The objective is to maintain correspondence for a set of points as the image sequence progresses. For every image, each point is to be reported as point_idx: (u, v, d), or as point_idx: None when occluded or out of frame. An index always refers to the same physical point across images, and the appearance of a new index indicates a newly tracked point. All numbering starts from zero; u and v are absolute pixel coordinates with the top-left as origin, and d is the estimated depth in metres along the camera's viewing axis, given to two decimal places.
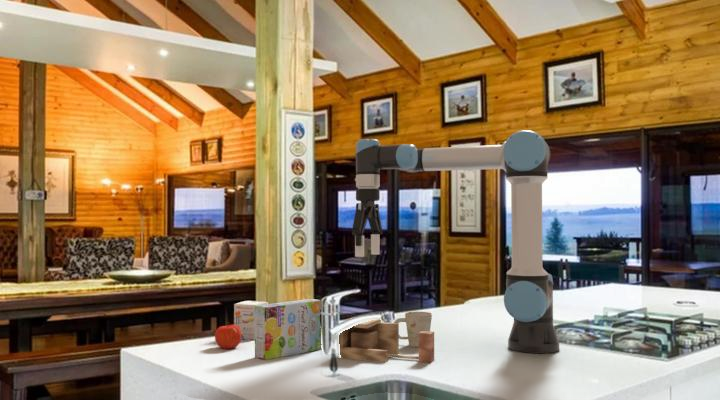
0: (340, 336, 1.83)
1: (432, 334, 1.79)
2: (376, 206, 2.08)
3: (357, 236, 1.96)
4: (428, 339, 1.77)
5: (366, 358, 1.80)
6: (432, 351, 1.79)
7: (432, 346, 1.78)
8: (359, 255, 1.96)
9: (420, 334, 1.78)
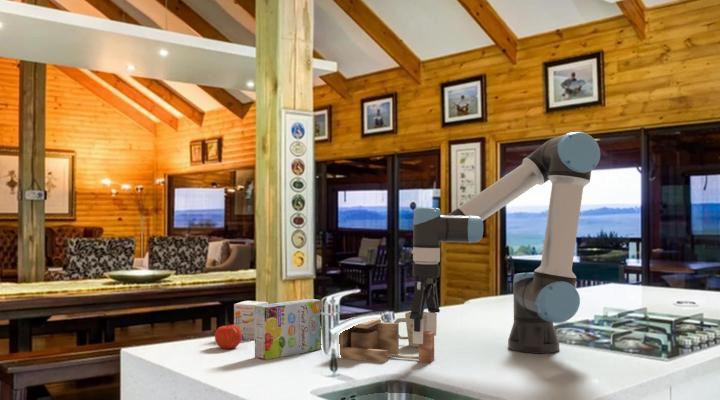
0: (340, 336, 1.83)
1: (432, 334, 1.79)
2: (434, 281, 1.85)
3: (416, 320, 1.72)
4: (428, 339, 1.77)
5: (366, 358, 1.80)
6: (432, 351, 1.79)
7: (432, 346, 1.78)
8: (417, 342, 1.72)
9: None
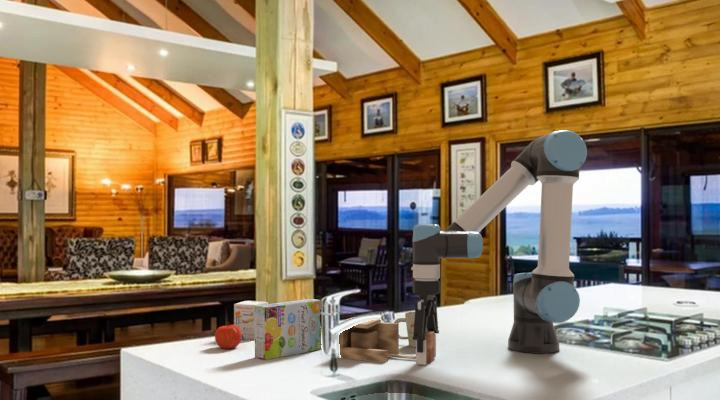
0: (340, 336, 1.83)
1: (432, 334, 1.79)
2: (434, 299, 1.84)
3: (419, 341, 1.73)
4: (428, 339, 1.77)
5: (366, 358, 1.80)
6: (432, 351, 1.79)
7: (432, 346, 1.78)
8: (421, 362, 1.74)
9: None
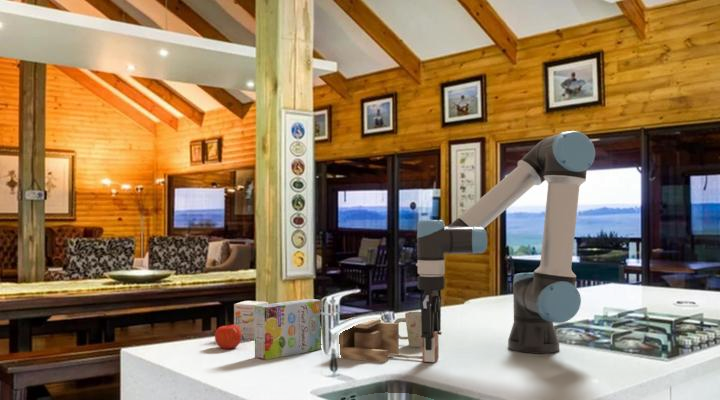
0: (340, 336, 1.83)
1: (436, 333, 1.78)
2: None
3: (427, 339, 1.75)
4: None
5: (366, 358, 1.80)
6: (436, 350, 1.78)
7: (436, 346, 1.78)
8: (429, 360, 1.76)
9: None
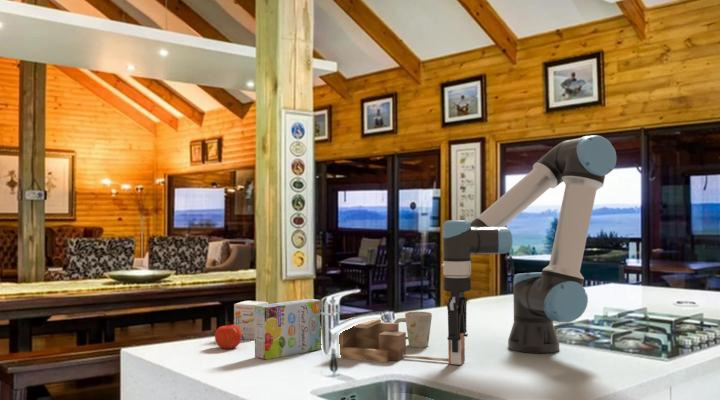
0: (340, 336, 1.83)
1: (462, 336, 1.76)
2: None
3: (454, 341, 1.73)
4: None
5: (366, 358, 1.80)
6: (462, 353, 1.76)
7: (462, 348, 1.75)
8: (456, 362, 1.74)
9: None
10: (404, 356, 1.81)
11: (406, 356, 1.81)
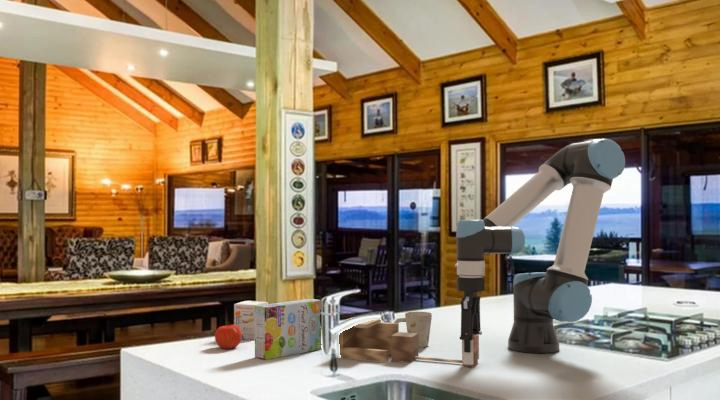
0: (340, 336, 1.83)
1: (476, 337, 1.74)
2: None
3: (466, 341, 1.70)
4: None
5: (366, 358, 1.80)
6: (476, 354, 1.74)
7: (476, 349, 1.74)
8: (468, 363, 1.71)
9: None
10: (417, 358, 1.80)
11: (419, 357, 1.80)
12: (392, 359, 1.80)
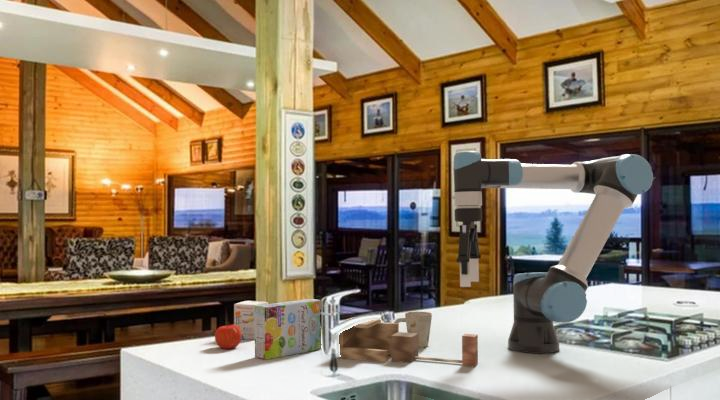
0: (340, 336, 1.83)
1: (476, 337, 1.74)
2: (475, 227, 1.84)
3: (463, 263, 1.71)
4: (472, 342, 1.73)
5: (366, 358, 1.80)
6: (476, 354, 1.74)
7: (476, 349, 1.74)
8: (465, 285, 1.71)
9: (464, 337, 1.74)
10: (417, 358, 1.80)
11: (419, 357, 1.80)
12: (392, 359, 1.80)
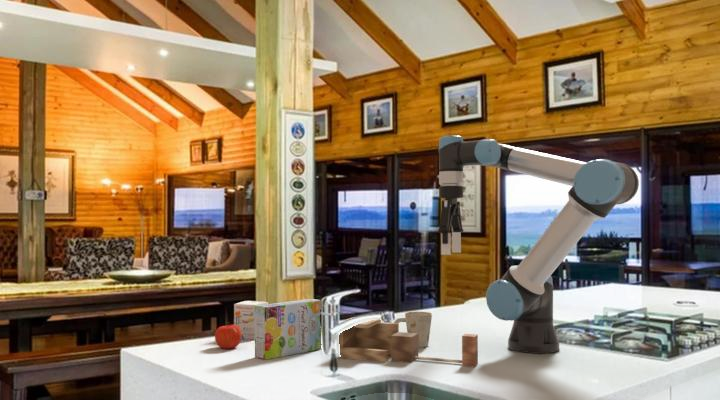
0: (340, 336, 1.83)
1: (476, 337, 1.74)
2: (457, 203, 2.06)
3: (444, 234, 1.93)
4: (472, 342, 1.73)
5: (366, 358, 1.80)
6: (476, 354, 1.74)
7: (476, 349, 1.74)
8: (445, 253, 1.94)
9: (464, 337, 1.74)
10: (417, 358, 1.80)
11: (419, 357, 1.80)
12: (392, 359, 1.80)
